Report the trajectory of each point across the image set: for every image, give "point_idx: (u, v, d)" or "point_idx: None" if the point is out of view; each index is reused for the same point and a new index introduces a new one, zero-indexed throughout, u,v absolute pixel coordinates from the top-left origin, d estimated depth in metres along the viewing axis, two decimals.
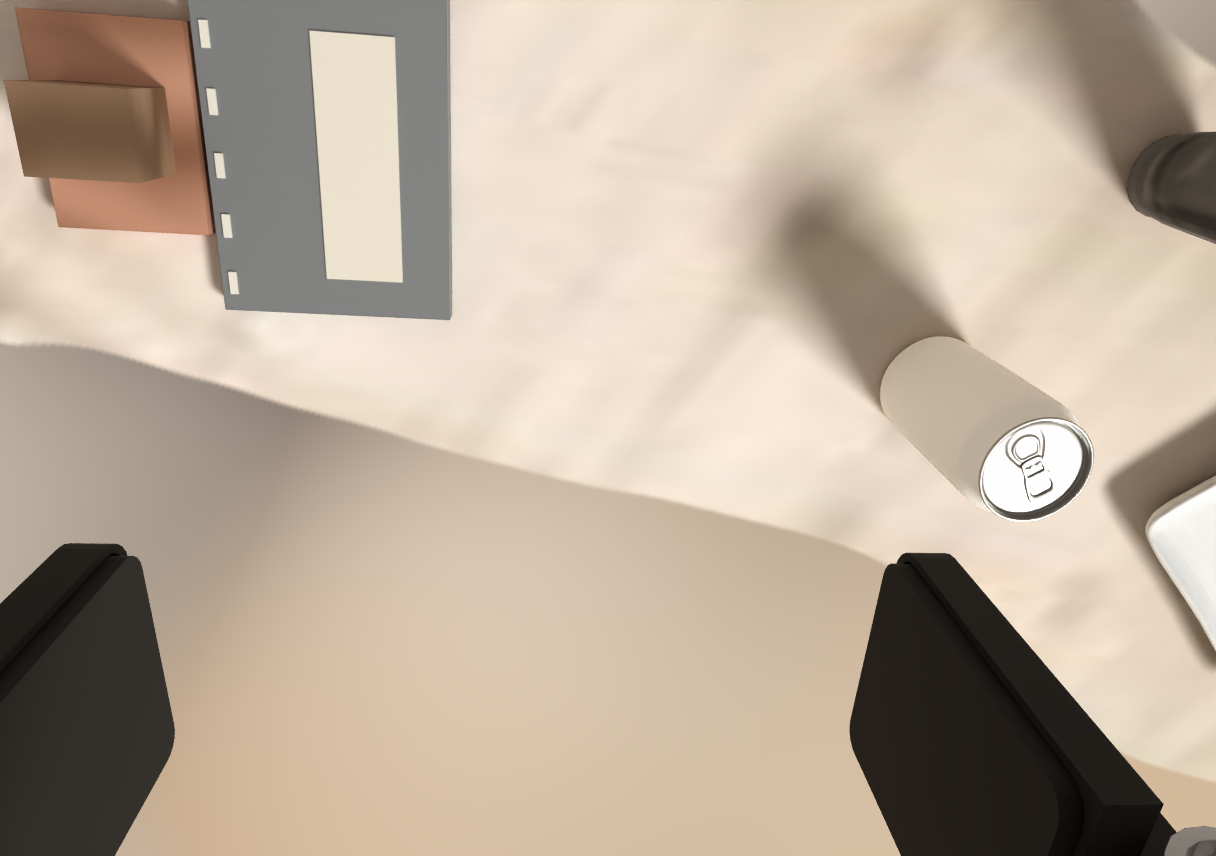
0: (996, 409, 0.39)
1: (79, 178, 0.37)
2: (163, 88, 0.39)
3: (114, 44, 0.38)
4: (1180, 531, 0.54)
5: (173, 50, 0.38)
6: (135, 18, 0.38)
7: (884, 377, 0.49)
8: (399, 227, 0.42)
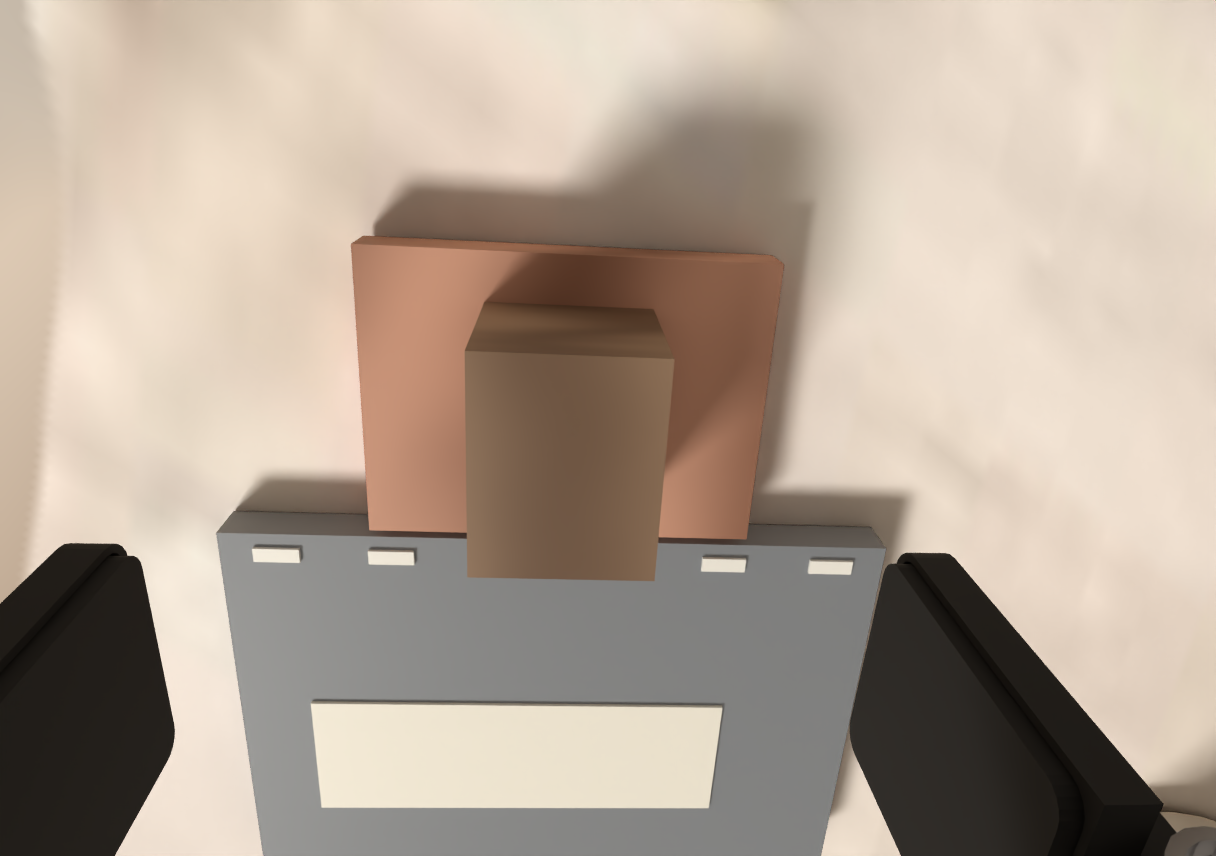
0: None
1: (468, 465, 0.16)
2: None
3: (713, 427, 0.20)
4: None
5: (700, 520, 0.21)
6: (753, 468, 0.21)
7: None
8: (418, 802, 0.25)
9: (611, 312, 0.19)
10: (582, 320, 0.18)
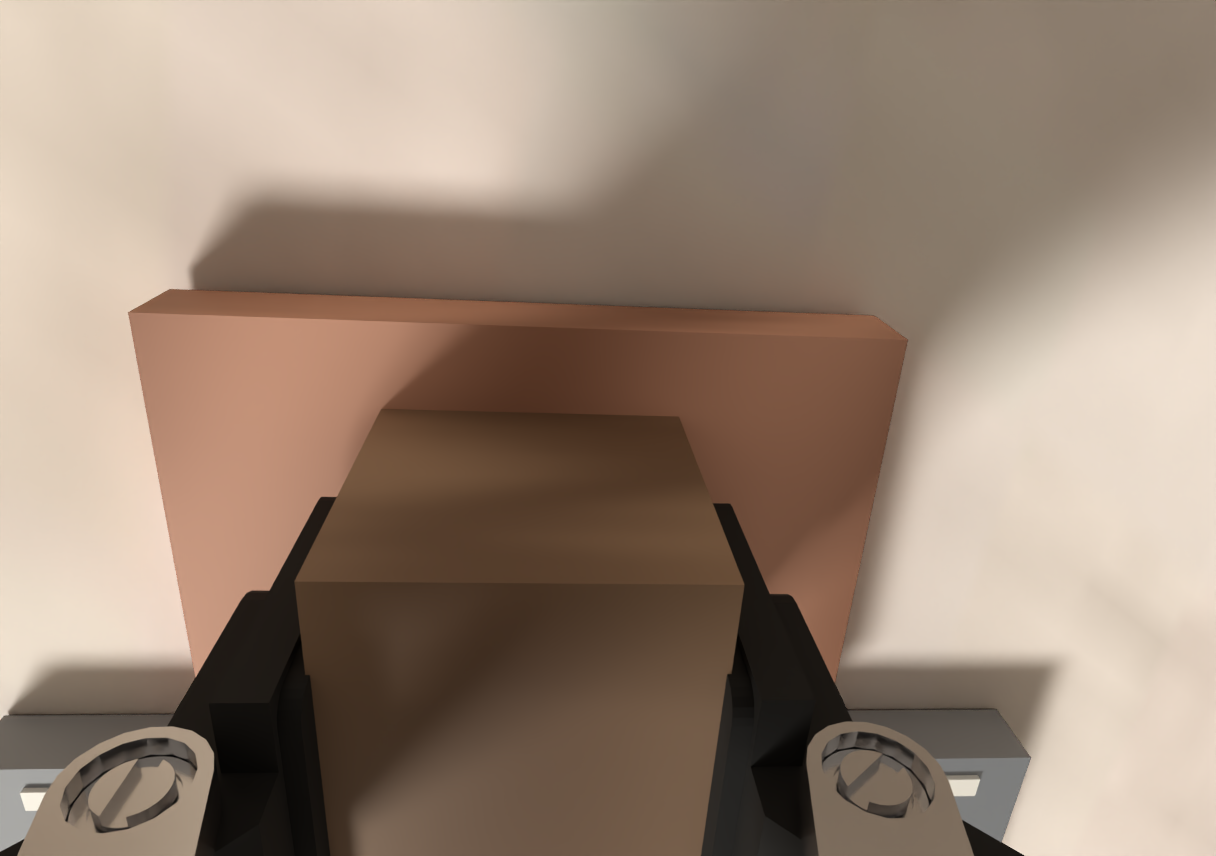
0: None
1: (323, 782, 0.08)
2: None
3: None
4: None
5: None
6: (836, 656, 0.13)
7: None
8: None
9: (606, 430, 0.10)
10: (553, 458, 0.10)
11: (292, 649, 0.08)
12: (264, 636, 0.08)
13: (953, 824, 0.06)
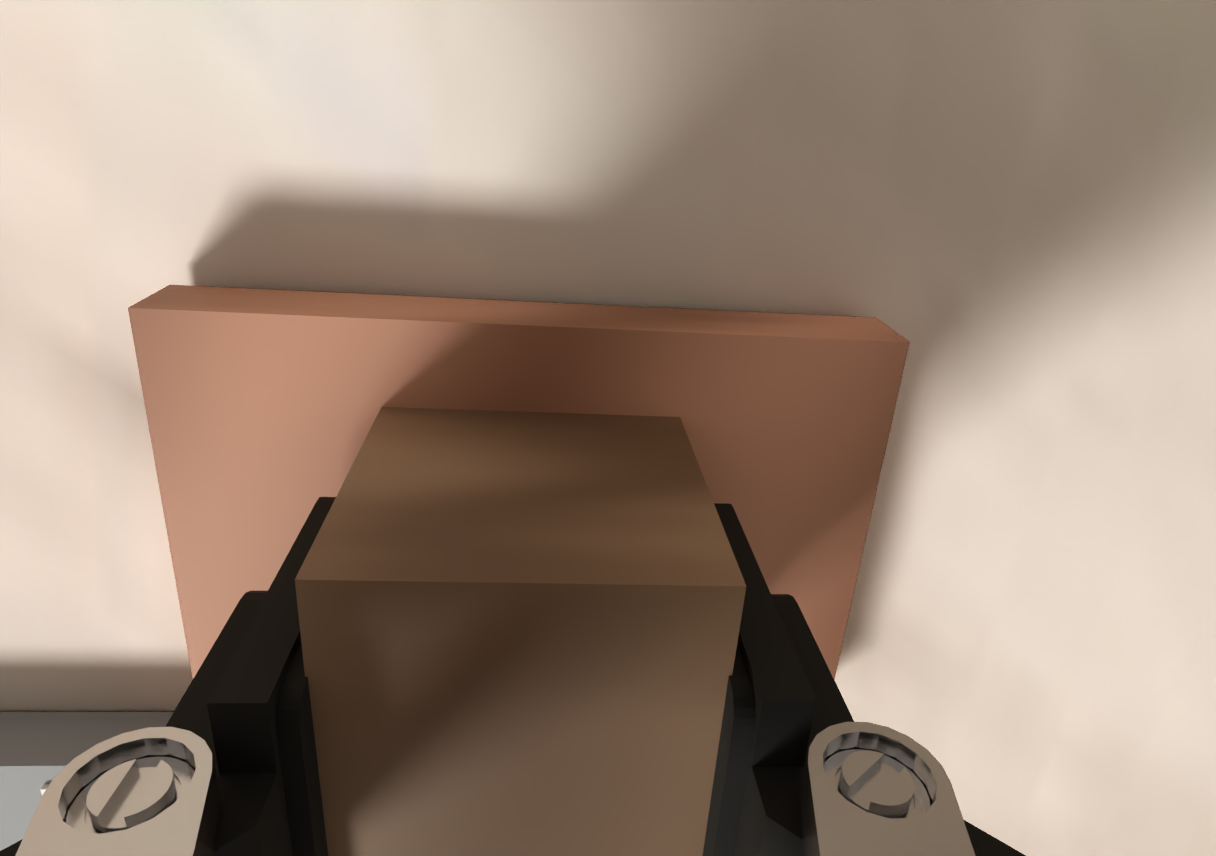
0: None
1: (321, 781, 0.08)
2: None
3: None
4: None
5: None
6: (834, 658, 0.13)
7: None
8: None
9: (607, 430, 0.10)
10: (553, 457, 0.10)
11: (290, 649, 0.08)
12: (262, 636, 0.08)
13: (954, 824, 0.06)
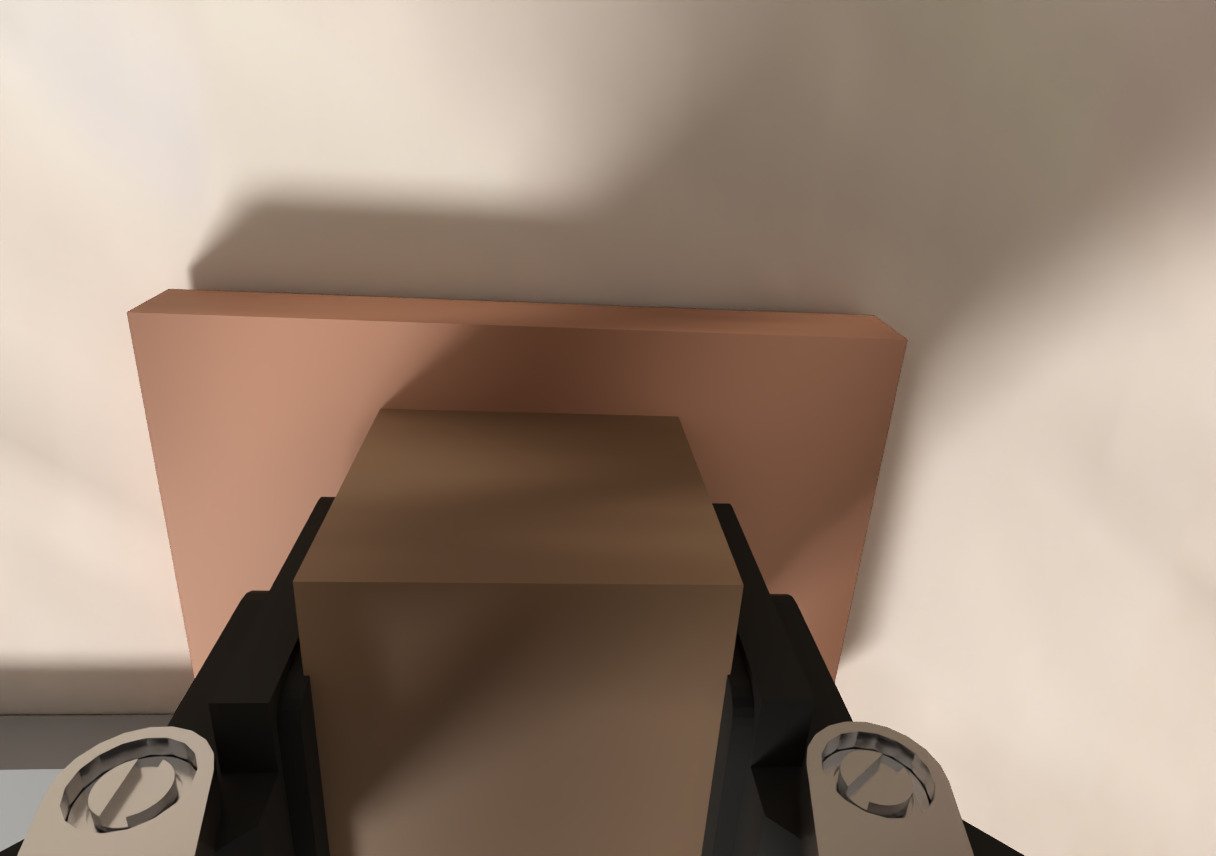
0: None
1: (322, 782, 0.08)
2: None
3: None
4: None
5: None
6: (835, 656, 0.13)
7: None
8: None
9: (605, 430, 0.10)
10: (552, 457, 0.10)
11: (292, 649, 0.08)
12: (264, 636, 0.08)
13: (953, 824, 0.06)
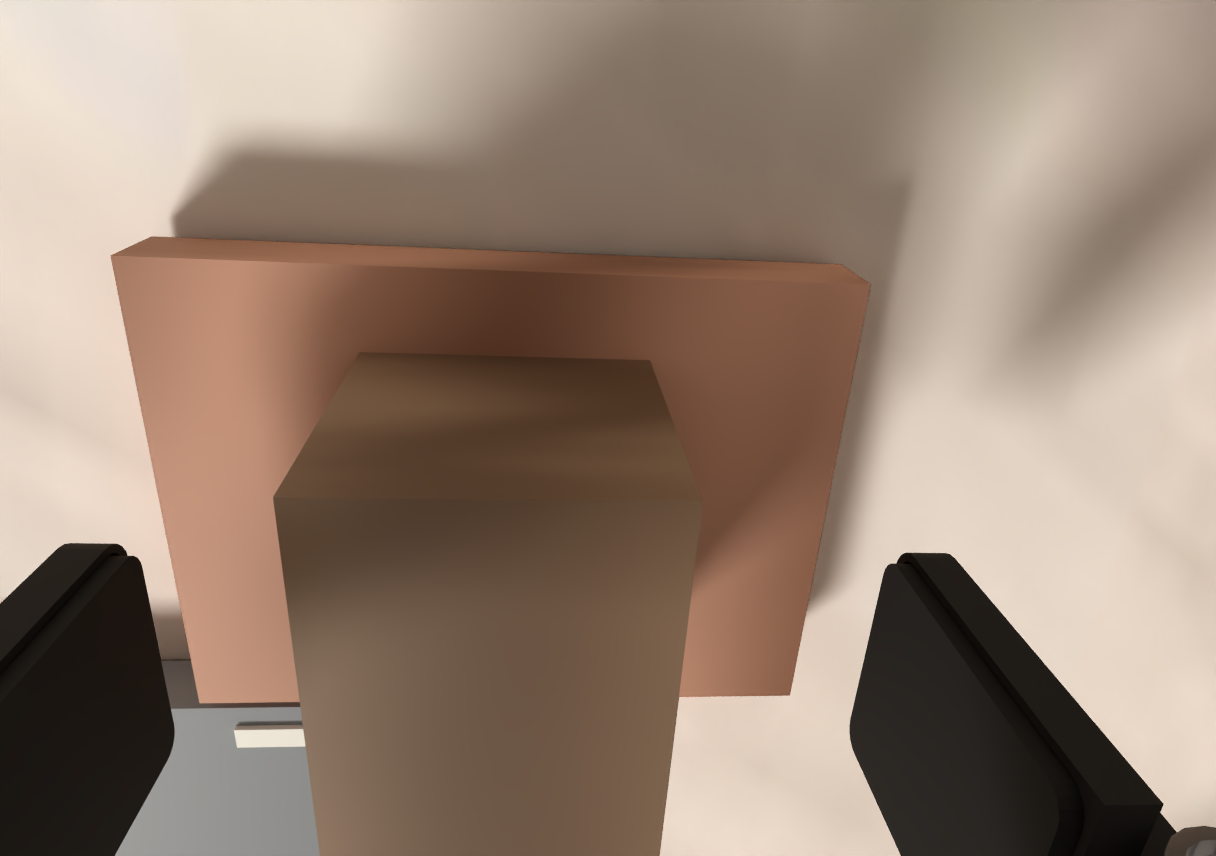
0: None
1: (304, 696, 0.08)
2: None
3: (744, 540, 0.13)
4: None
5: (721, 672, 0.14)
6: (804, 597, 0.13)
7: None
8: None
9: (578, 371, 0.11)
10: (526, 394, 0.10)
11: None
12: None
13: None
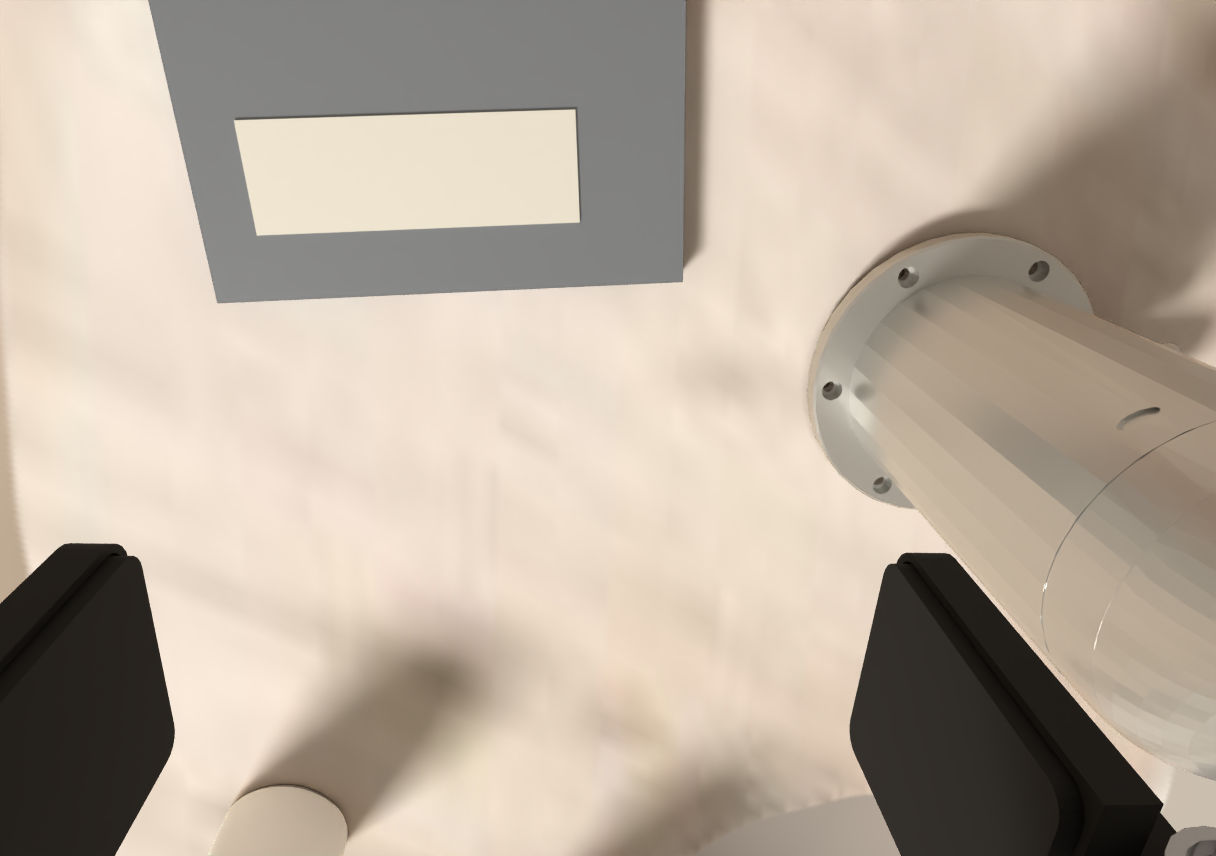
0: None
1: None
2: None
3: None
4: None
5: None
6: None
7: (283, 789, 0.42)
8: (336, 229, 0.30)
9: None
10: None
11: None
12: None
13: None
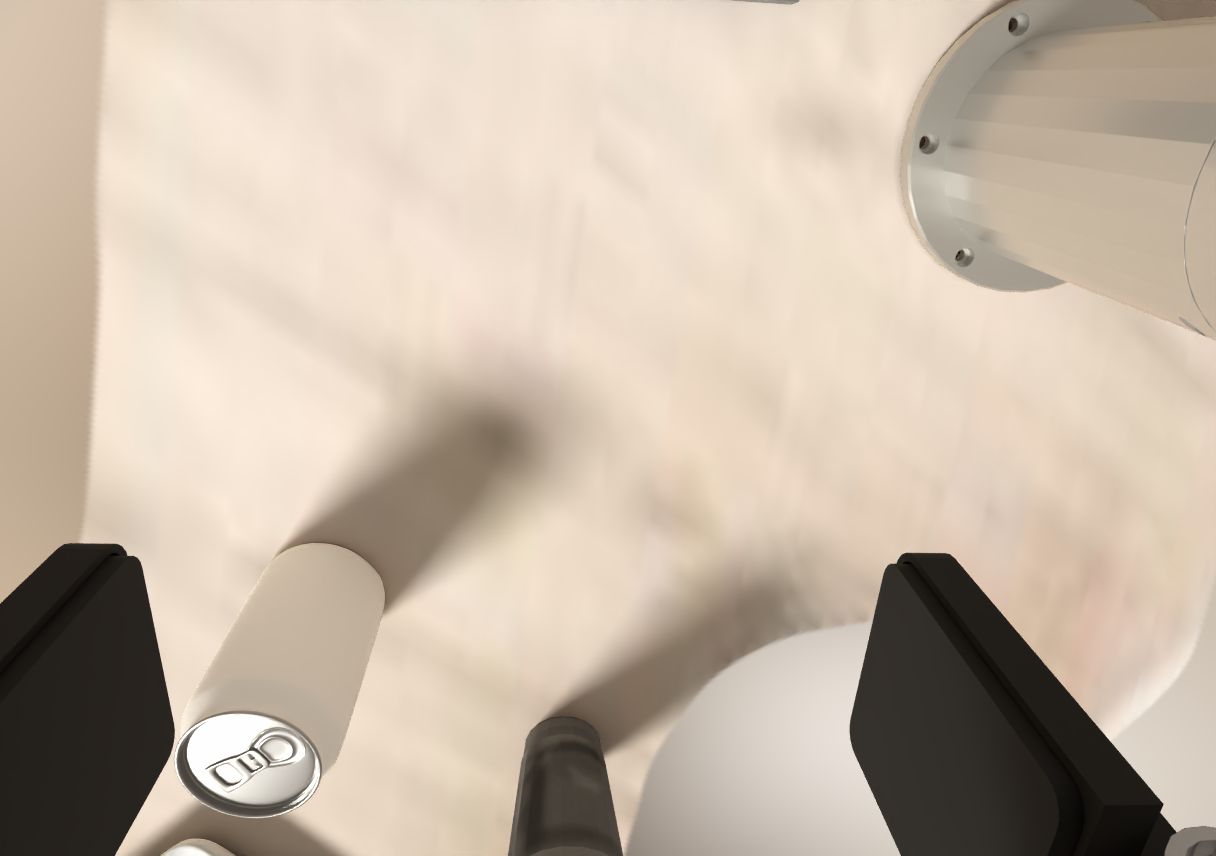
0: (320, 702, 0.33)
1: None
2: None
3: None
4: None
5: None
6: None
7: (327, 545, 0.41)
8: None
9: None
10: None
11: None
12: None
13: None
